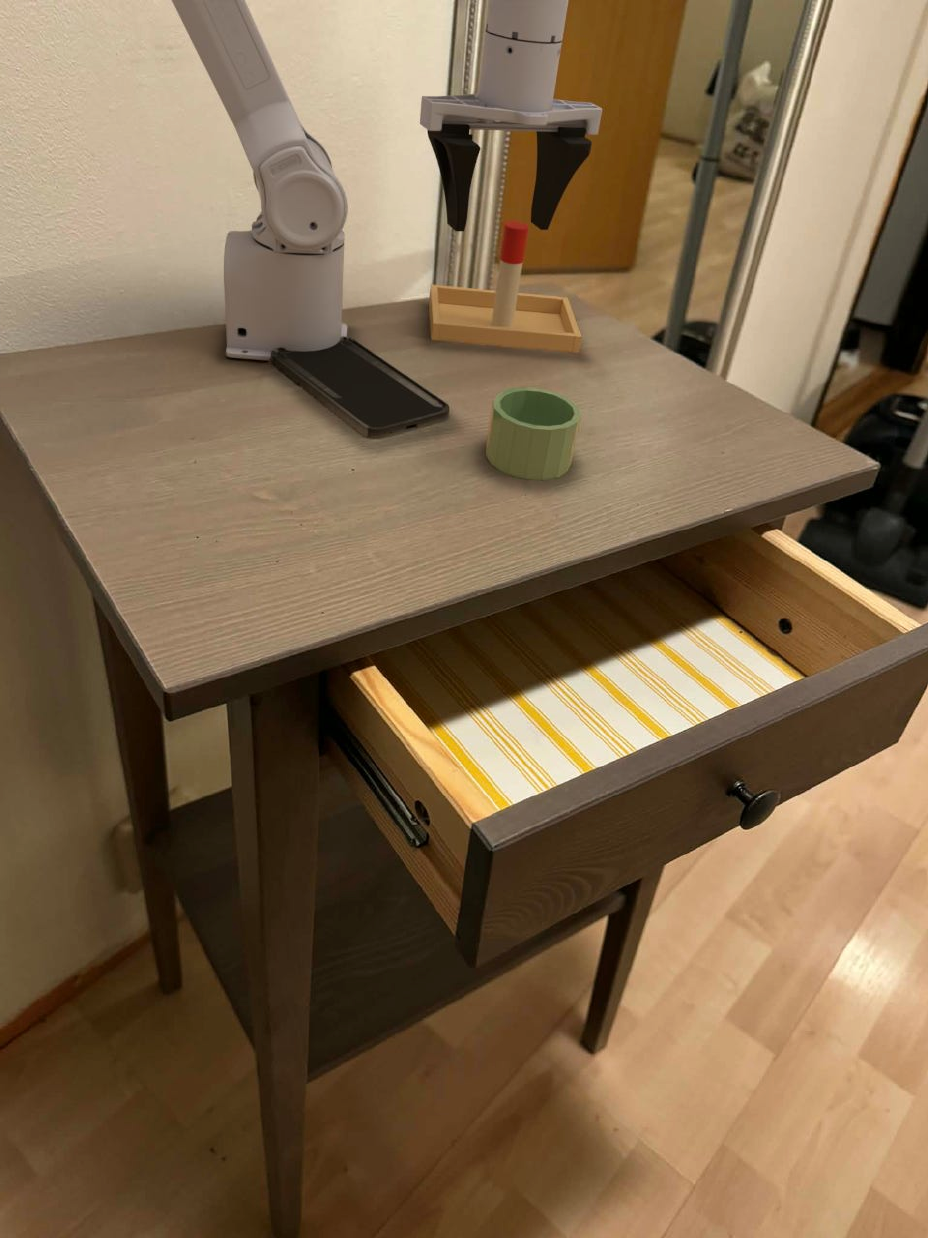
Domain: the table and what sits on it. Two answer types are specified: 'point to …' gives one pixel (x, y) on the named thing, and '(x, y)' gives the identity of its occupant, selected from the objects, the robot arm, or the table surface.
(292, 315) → the robot arm
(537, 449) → the pen cup
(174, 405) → the table surface
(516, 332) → the pen tray
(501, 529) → the table surface
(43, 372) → the table surface
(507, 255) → the marker
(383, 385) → the phone
